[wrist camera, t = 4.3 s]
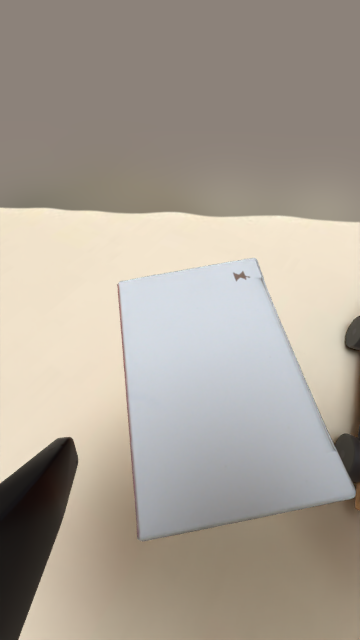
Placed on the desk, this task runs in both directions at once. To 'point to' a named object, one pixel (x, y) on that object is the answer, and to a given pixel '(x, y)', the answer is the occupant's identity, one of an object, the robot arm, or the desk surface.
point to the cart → (351, 451)
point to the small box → (218, 404)
